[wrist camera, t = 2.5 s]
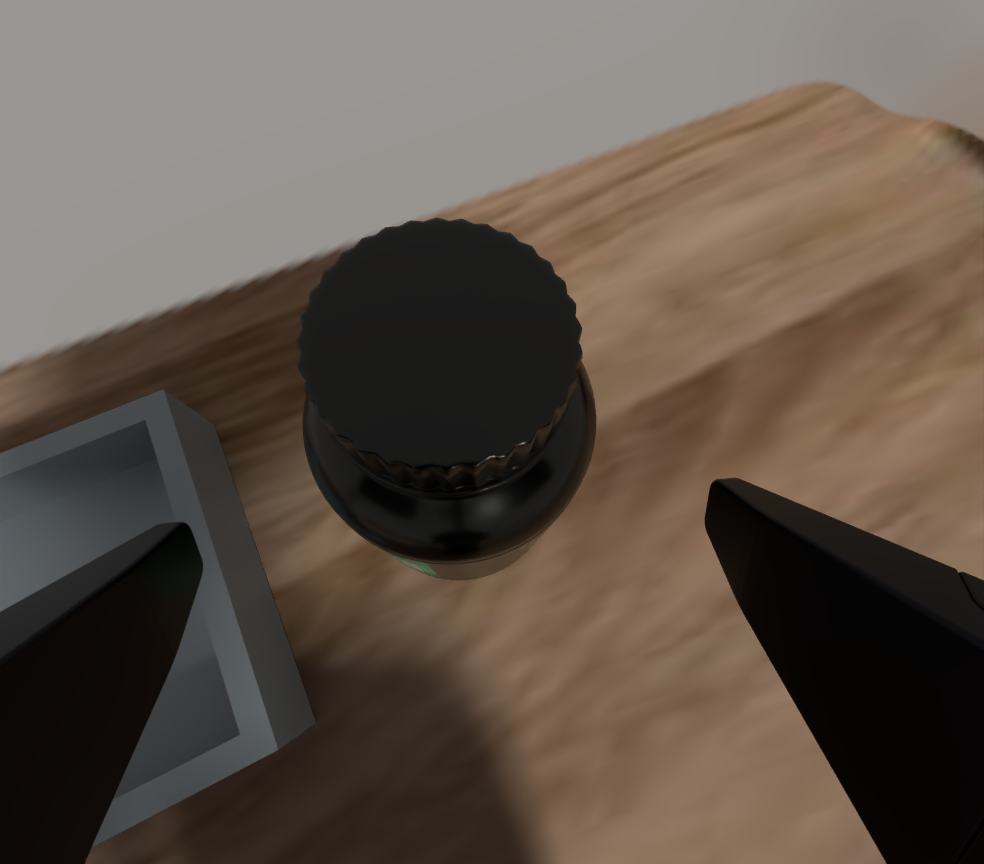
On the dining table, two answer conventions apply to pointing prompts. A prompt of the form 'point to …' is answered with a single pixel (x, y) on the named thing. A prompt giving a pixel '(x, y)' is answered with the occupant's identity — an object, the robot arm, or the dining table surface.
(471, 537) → the supplement bottle
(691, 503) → the dining table surface
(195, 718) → the tray
